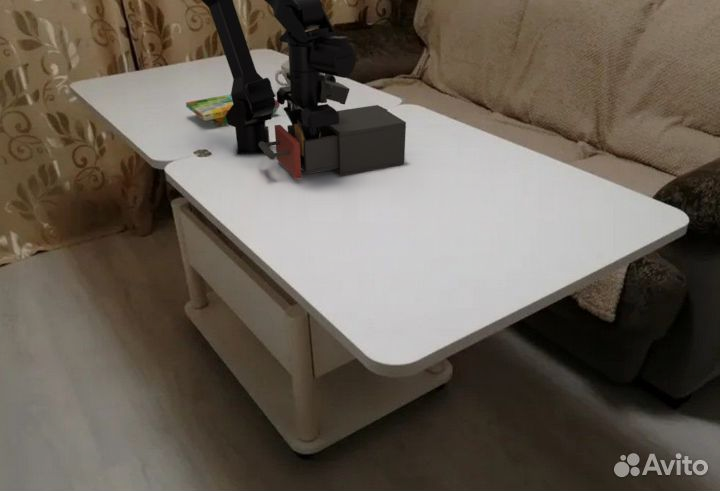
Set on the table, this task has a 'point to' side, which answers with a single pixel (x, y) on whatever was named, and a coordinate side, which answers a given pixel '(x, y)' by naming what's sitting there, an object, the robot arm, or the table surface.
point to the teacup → (284, 73)
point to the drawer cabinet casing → (369, 139)
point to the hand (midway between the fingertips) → (308, 147)
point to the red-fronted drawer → (316, 151)
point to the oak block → (300, 138)
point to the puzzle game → (215, 108)
